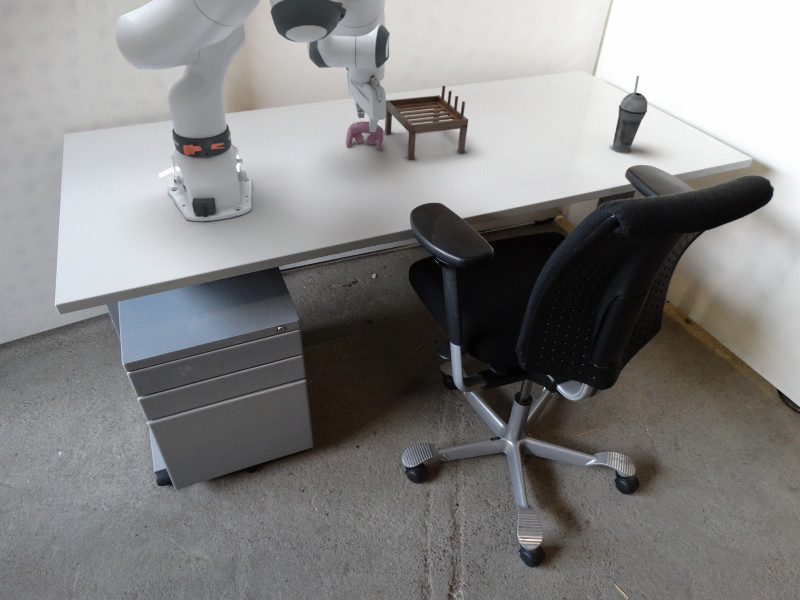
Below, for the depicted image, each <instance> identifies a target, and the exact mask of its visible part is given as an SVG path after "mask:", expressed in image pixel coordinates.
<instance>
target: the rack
mask: <svg viewBox="0 0 800 600" xmlns="http://www.w3.org/2000/svg"><path fill="white" fill-rule="evenodd" d="M445 93H446V85H442V88H441V95H440V94H437V95H428V96H427V95H426V96H418V97H408V98H397V99H386V117H385V119H384V134H385V135H392V123H393V118H394V119H396V121H397V122H398V123H399V124H400V125H401V126H402V127H403V128H404V129H405V130H406V131H407V132H408V140H407V156H406V157H407V159H408V161H412V160H415V154H416V153H415V152H416V139H417V135H418V134H426V133H434V132H442V131H443V132H444V131H452V130H459V133H458V143H457V153H459V154H464V153H465V149H466V141H467V133H468V125H469V118H467V117H466V116H464V114H465V109H466V108H465V106H466V101H463V100H462V101H461V107H460V108H461V109H460V111H458V103H459V95H455V96H454V105H453V106H452V105H451V102H452V93H453V91H452V90H448V96H447V100H446V99H445Z"/></svg>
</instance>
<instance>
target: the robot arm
mask: <svg viewBox="0 0 800 600" xmlns="http://www.w3.org/2000/svg"><path fill="white" fill-rule="evenodd" d="M260 2H261V0H151V1H149V2H148V3H146V4H144V5H142V6H140V7H138V8H136V9H134V10H131V11H129V12H127V13H124V14H121V15H120V16H119V18H118V19H117V21H116V26H115V34H114V35H115V40H116V44H117V47H118V50H119V52H120V53H121V55H122V57H123V58H124V59H125V60H126V61H127V63H129V64H130V65H131V66H132V67H134V68H135V69H137V70H152V71H153V70H156V71H157V70H158V71H159V70H168V69H173V68H177V67H182V66H185V67H184V70H183V71H182V74H181V76H180V77H179V78H178V79H177V80H176V81H175V82H174V83H173V84H172V85H171V86H170V88H169V90H168V93H167V104H168V108H169V113H170V118H171V122H172V130H171V133H172V140H173V144H174V148H175V149H174V151H173V152H172V153H171V154H170V156H169V159H170V164H171V168H168V169H167V170H165V171H162V172H161V173H159V178H162V177H164V176H166V175H168V174H170V173H172V174H173V182H174V183H172V184H170V185H168V187H167V193H168V195H169V196H170V198H171V199H172V201H173V202H174V203H175V205H176V206H177V208H178V210H179V211H180V213H181V214H182V216H183V217H184V219H186V220H187V221H190V222H191V221H192V222H210V221H211V222H213V221H219V220H226V219H231V218H236V217H240V216H243V215H245V214H247V213H249V212H251V211H252V207H253V206H252V205H253V203H252V201H253V181H252V177H251V175H248V174H247V170H242V168H241V166H243V163H244V162H243V158H240V153H239V148H238V147H237V146H236V145H234V144H233V143H232V133H231V130H230V127H229V125H228V124H227V118H226V109H225V108H226V107H225V97H224V96H225V95H224V93H225V90H224V89H225V83H226V78H227V74H228V72H229V69H230V67H231V64H232V62H233V61H234V58H235V57H236V56H237V54H238V53H239V52H240V51H241V50H242V48H243V47H244V45H245V44H246V39H247V38H246V37H247V25H246V20H247V19H248V18H250V16H251V15H252V13H253V12H254V11H255V10H256V9H257V7H258V6H259V3H260ZM269 5H270V7H271V9H270V16H271V19H272V22H273V26H274V28H275V30H276V32H277V33H278V34H279V35H280V36H281V37H283V38H284V39H286V40H288V41H290V42H294V43H306V49H307V55H308V56H309V57H308V58H309V60H310V61H311V62H312V63H313V64H314V65H315V66H316V67H318V68H320V69H323V68H324V69H326V68H344V69H345V70H346V83H347V91H348V94H349V95H350V97H351V98H352V99H353V100H354V105H355V109H356V117H357V118H358V119H364V118H365V114H366V115H367V116H368V119H369V121H368V122H369V124H368V130H369V131H370V132H376V127H377V125H378V123H379V121H384V120H385V117H386V100H387V97H386V96H387V95H386V90H385V88H384V87H383V85H381V81H384V79H385V65H386V64H385V63H387V61H388V60H389V58H390V35H391V34H390V32H389V30H388V28H386V16H385V6H386V0H269Z"/></svg>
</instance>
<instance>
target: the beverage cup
mask: <svg viewBox="0 0 800 600" xmlns="http://www.w3.org/2000/svg"><path fill="white" fill-rule="evenodd" d="M639 78H640V75H637V76H636V79H635V84H634V90H633V92H631V93H629V94H627V95H626V96H624V97H623V98H622V100H621V101H620V104H619V105H618V117H617V122H616V126H615V131H614V137H613V143H612V147H611V148H612V150H614V151H615V152H618V153H623V154H624V153H629V152H630V148H631V147H632V145H633V142H634V140H635V138H636V135H637V133H638V130H639V128H640V125H641V124H642V121H643V119H644V118H645V116H646V114H647V113H648V100H647V97H645V95H643V94H642V93H641V92H637V89H638V84H639V80H640V79H639Z"/></svg>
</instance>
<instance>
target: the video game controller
mask: <svg viewBox="0 0 800 600" xmlns="http://www.w3.org/2000/svg"><path fill="white" fill-rule="evenodd" d="M369 122H370V121H355V122H352V123H351V124H350V125H349V127H348V128H347V132H346V139H345V144H346V147H347V148H349V147H351V145H352V144H353V143H352V142H353V140H355V142H356V143H358V144H362V143H364V142H365V137H364V135H363V134H368V135H367V137H366V142H367V144H369V145H374V144H375V143H376V146H377V150H381V149H382V147H383V143H384V129H383V127H382V126H380V125H379V124H377V127H376V132H370V131H369V130H368V124H369Z"/></svg>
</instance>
